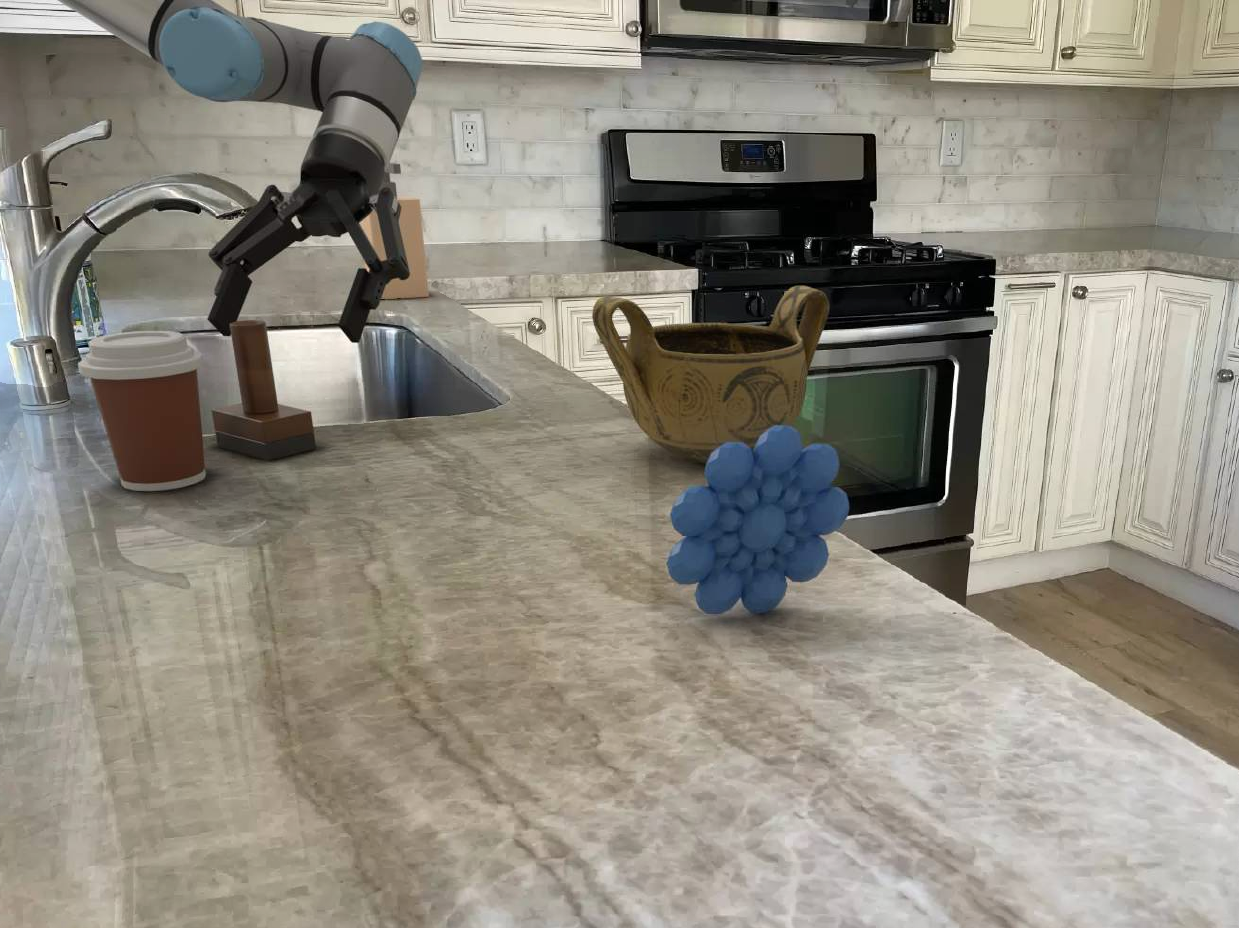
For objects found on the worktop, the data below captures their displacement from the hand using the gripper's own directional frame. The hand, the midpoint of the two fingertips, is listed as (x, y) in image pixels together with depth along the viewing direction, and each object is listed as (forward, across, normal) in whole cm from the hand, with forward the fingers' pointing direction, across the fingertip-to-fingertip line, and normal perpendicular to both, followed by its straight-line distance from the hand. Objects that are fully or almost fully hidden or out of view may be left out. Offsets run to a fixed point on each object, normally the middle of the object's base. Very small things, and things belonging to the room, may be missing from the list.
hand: (282, 331), depth 106 cm
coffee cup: (+18, +2, +4) cm, 19 cm away
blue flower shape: (+29, -52, +14) cm, 61 cm away
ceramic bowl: (+5, -41, -10) cm, 42 cm away
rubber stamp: (+10, 0, -4) cm, 11 cm away
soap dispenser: (-54, +36, -69) cm, 95 cm away
